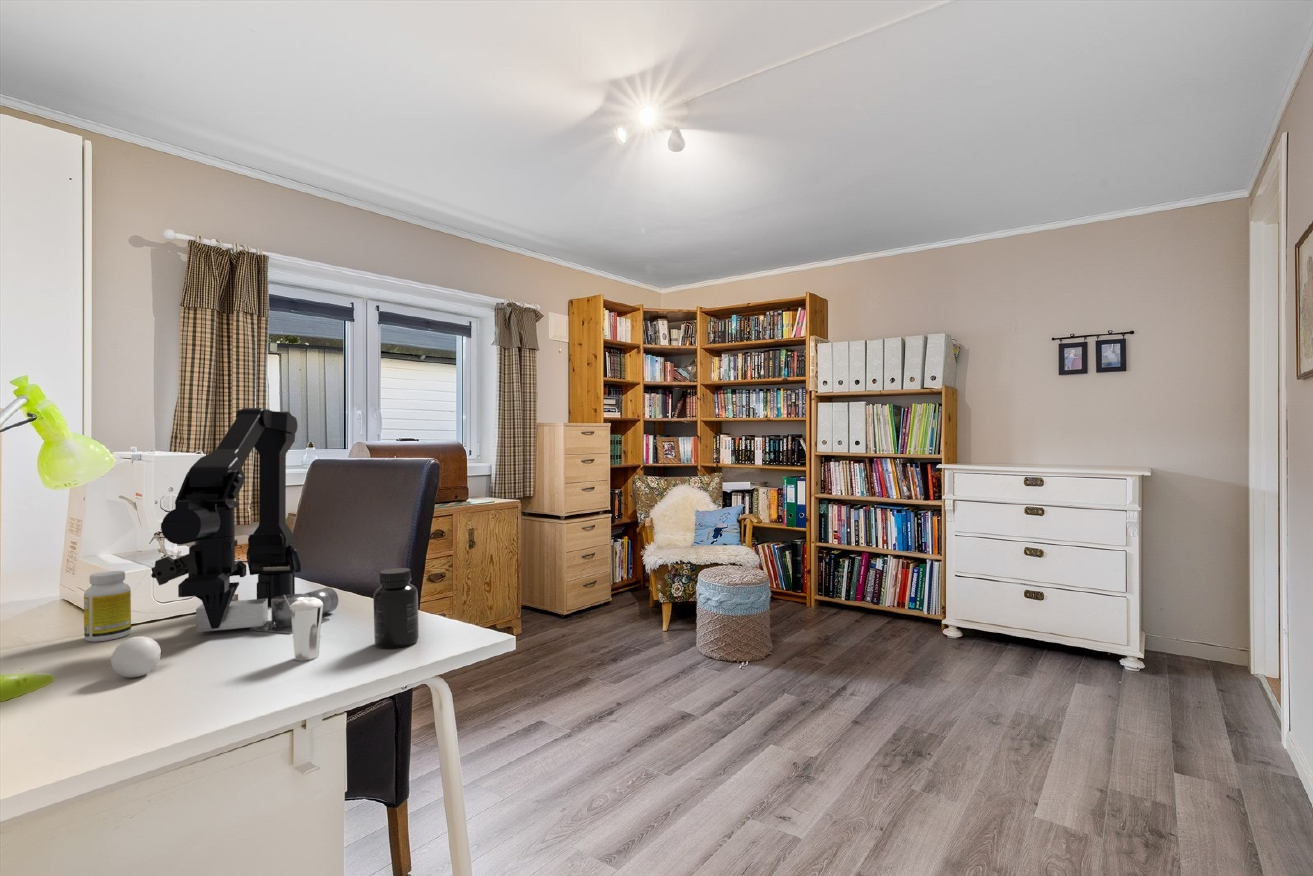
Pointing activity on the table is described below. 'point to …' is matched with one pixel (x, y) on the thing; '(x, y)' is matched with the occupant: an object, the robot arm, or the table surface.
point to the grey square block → (236, 615)
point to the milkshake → (306, 627)
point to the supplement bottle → (395, 610)
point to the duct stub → (282, 609)
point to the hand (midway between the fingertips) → (215, 628)
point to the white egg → (136, 657)
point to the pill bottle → (107, 607)
